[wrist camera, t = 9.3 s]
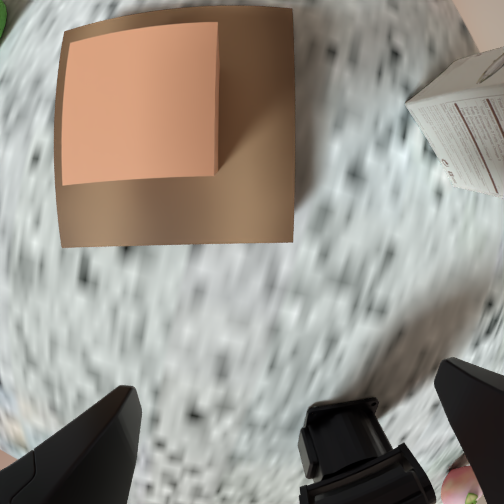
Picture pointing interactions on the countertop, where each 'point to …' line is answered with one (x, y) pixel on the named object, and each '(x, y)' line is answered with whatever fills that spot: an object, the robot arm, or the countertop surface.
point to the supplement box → (467, 121)
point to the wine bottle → (2, 16)
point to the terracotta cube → (142, 104)
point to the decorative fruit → (461, 487)
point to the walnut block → (229, 146)
